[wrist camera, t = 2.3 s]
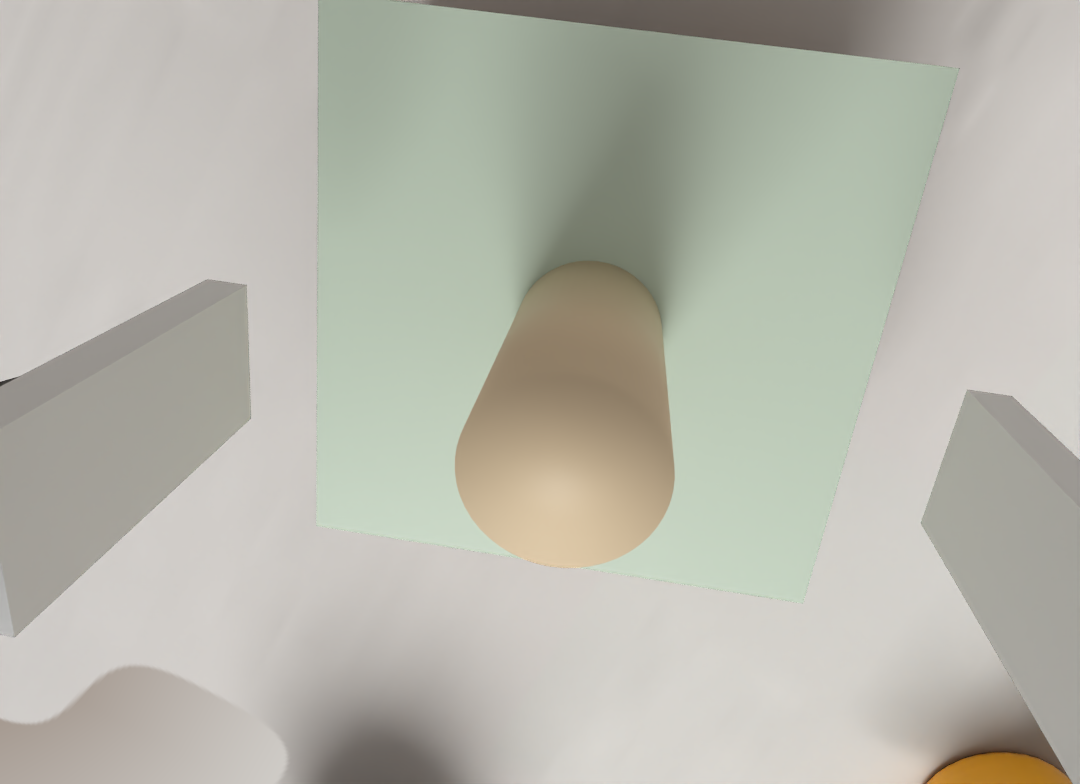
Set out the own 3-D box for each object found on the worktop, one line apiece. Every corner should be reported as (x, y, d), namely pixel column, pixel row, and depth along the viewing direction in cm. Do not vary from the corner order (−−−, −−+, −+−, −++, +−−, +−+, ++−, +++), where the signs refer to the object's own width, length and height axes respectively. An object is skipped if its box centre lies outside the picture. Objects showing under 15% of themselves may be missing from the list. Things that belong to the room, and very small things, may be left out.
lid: (331, 503, 23) (183, 721, 15) (338, -5, 18) (120, -48, 10) (794, 576, 22) (874, 843, 15) (938, 67, 17) (1174, 78, 10)
